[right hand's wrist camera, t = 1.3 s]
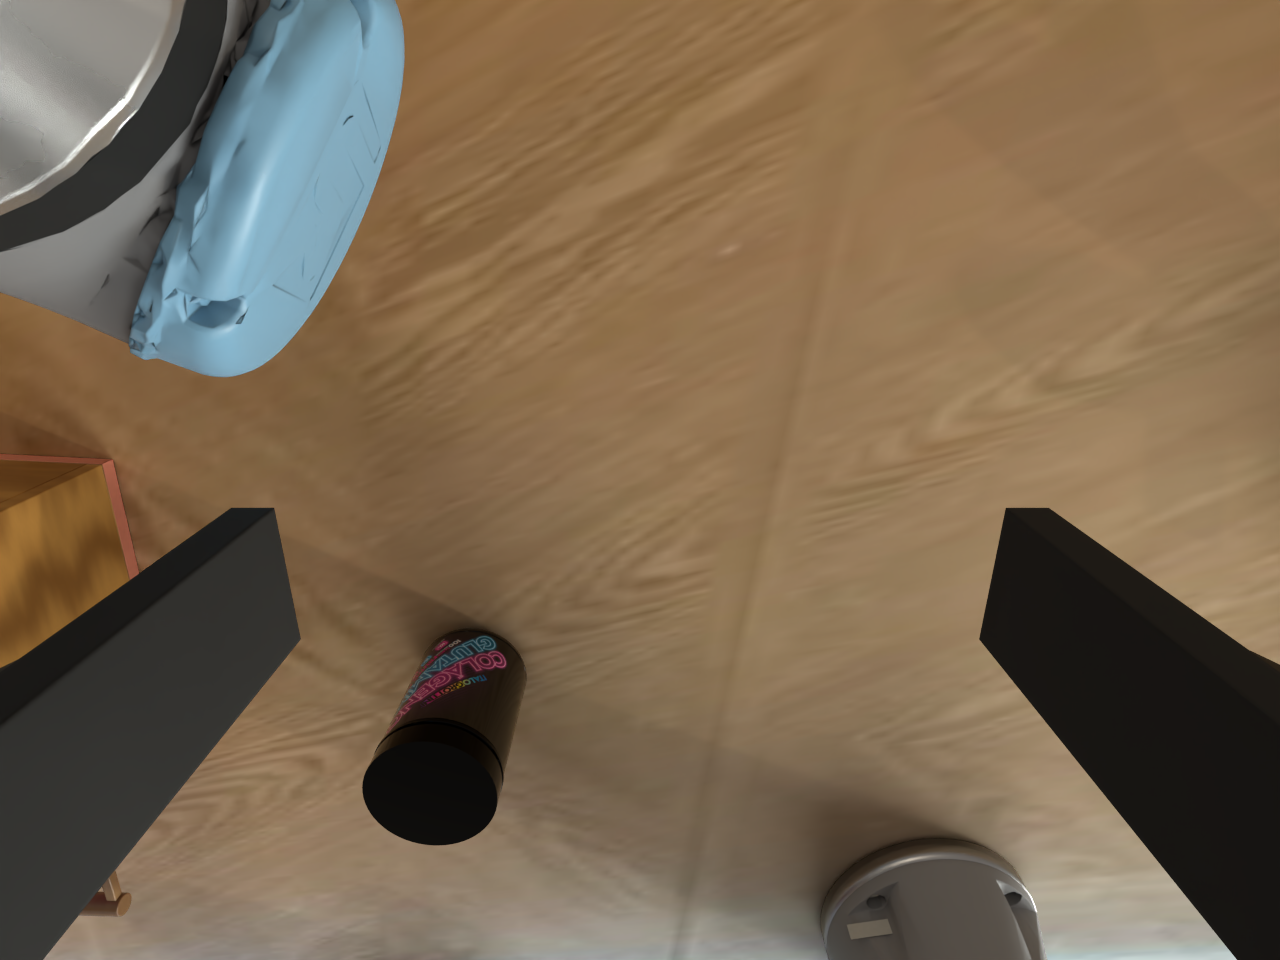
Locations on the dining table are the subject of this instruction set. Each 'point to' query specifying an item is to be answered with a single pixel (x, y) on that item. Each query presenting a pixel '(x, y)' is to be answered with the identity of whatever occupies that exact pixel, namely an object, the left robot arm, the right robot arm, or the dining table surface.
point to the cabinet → (57, 545)
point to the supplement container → (448, 741)
